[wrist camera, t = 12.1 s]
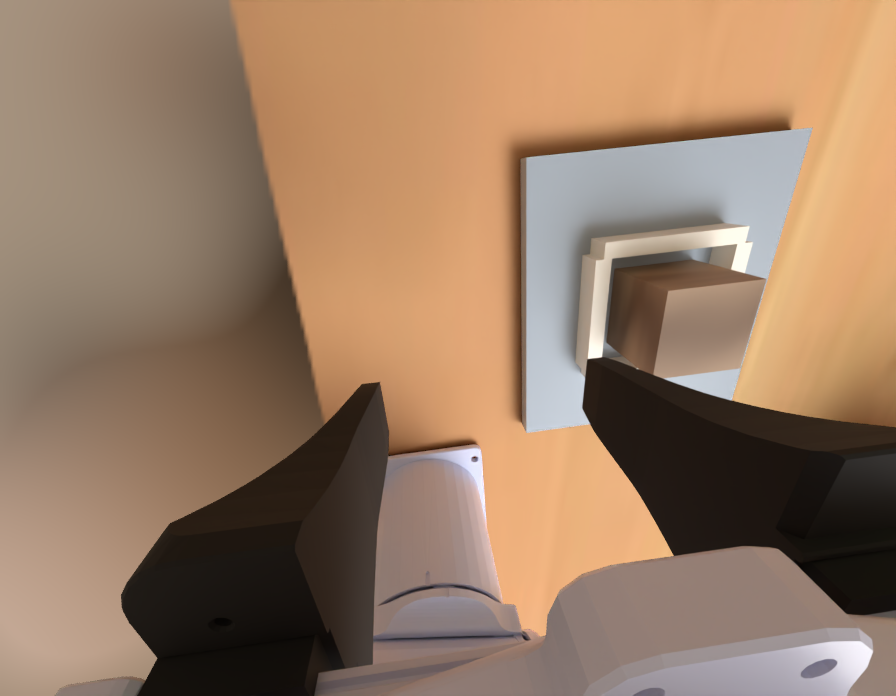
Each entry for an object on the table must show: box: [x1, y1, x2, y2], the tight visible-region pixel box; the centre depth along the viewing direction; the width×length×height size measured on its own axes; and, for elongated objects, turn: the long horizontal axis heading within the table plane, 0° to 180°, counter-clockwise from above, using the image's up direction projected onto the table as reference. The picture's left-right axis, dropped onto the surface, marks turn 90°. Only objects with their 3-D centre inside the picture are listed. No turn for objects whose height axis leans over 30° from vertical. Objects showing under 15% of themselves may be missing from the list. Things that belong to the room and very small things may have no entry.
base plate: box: [520, 128, 812, 433], centre depth 20 cm, size 16×14×2 cm
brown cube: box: [606, 260, 767, 379], centre depth 18 cm, size 4×4×4 cm
